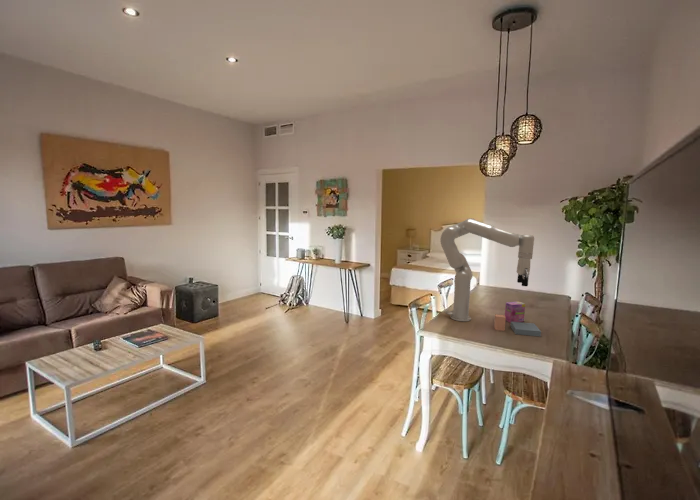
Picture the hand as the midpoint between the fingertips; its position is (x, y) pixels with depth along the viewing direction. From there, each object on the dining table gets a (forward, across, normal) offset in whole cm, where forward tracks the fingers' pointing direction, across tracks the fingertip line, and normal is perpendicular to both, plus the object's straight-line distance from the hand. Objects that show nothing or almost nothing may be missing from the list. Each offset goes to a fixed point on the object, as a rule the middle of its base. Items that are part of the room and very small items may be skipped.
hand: (522, 284), depth 215 cm
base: (+26, +7, +2) cm, 27 cm away
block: (+26, +7, -12) cm, 30 cm away
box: (+26, -12, +1) cm, 29 cm away
